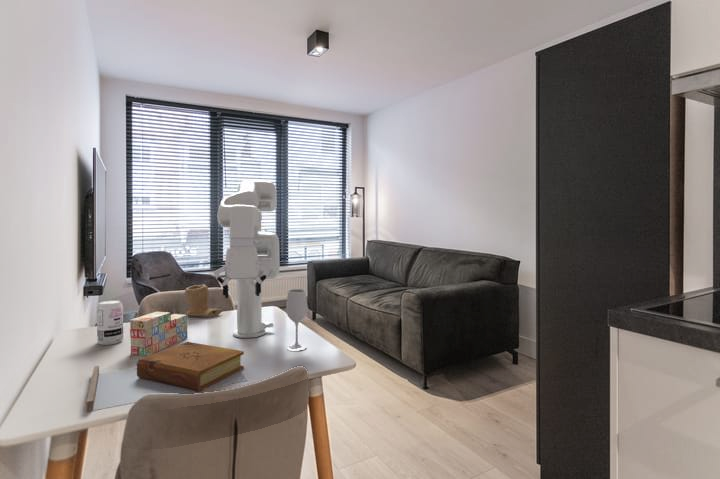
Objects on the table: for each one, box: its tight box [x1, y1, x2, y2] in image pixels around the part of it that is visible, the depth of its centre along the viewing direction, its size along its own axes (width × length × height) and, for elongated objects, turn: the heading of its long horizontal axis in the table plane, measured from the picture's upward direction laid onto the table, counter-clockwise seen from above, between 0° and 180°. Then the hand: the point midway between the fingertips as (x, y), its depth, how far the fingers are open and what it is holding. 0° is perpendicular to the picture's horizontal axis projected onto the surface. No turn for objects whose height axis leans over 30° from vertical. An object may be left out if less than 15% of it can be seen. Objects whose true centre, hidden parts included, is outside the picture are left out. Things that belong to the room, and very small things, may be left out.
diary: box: [136, 341, 245, 392], centre depth 119 cm, size 23×19×6 cm
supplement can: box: [96, 299, 124, 346], centre depth 148 cm, size 8×8×15 cm
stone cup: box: [184, 284, 223, 318], centre depth 188 cm, size 15×12×15 cm
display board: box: [86, 365, 248, 413], centre depth 116 cm, size 38×26×3 cm
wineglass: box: [285, 288, 308, 349], centre depth 143 cm, size 8×8×21 cm
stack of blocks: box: [129, 311, 188, 357], centre depth 144 cm, size 21×6×12 cm, turn 166°
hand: (242, 296), depth 128 cm, fingers open, 9 cm apart
